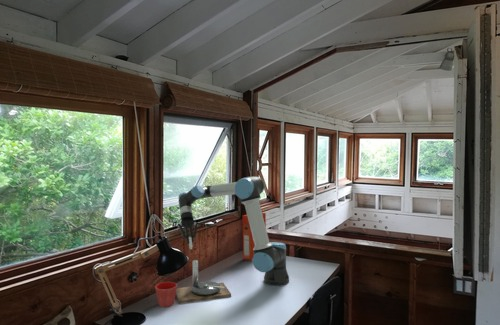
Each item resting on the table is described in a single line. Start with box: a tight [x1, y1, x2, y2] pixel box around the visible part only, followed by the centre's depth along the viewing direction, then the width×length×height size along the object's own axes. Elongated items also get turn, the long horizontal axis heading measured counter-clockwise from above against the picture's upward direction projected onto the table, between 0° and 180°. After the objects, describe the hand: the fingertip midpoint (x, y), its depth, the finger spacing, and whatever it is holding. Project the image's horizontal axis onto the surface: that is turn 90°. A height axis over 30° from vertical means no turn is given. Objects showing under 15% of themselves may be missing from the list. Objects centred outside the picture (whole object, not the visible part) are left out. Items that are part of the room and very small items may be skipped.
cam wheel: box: [190, 259, 224, 296], centre depth 202 cm, size 18×16×16 cm
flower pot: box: [155, 281, 178, 308], centre depth 189 cm, size 11×11×10 cm
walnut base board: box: [175, 282, 232, 305], centre depth 202 cm, size 28×18×2 cm, turn 108°
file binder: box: [241, 212, 267, 262], centre depth 269 cm, size 8×17×32 cm, turn 140°
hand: (191, 247), depth 214 cm, fingers closed
